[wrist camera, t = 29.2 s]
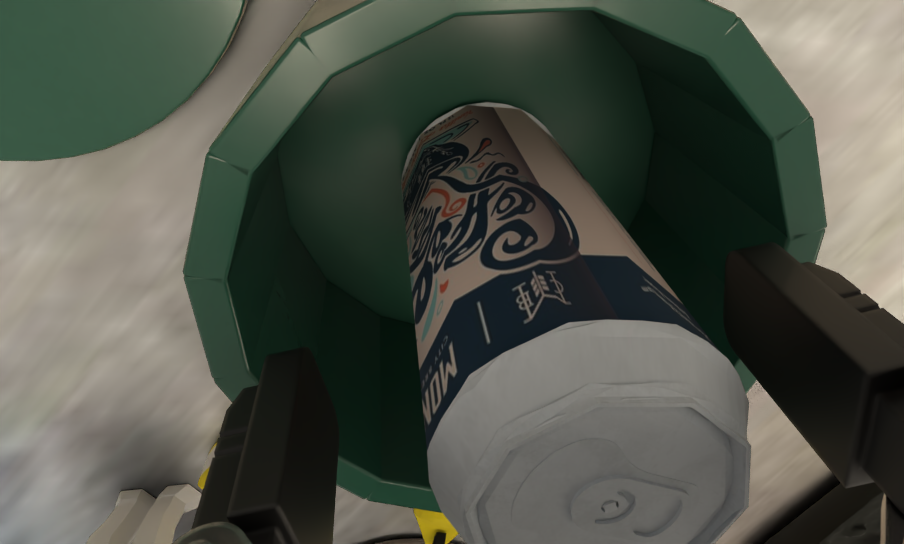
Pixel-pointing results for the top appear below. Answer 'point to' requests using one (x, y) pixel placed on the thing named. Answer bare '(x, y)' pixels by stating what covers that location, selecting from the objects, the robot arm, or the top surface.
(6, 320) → the top surface
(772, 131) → the pot
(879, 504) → the handgun
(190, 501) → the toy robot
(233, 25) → the lid
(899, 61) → the top surface
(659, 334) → the beer can
